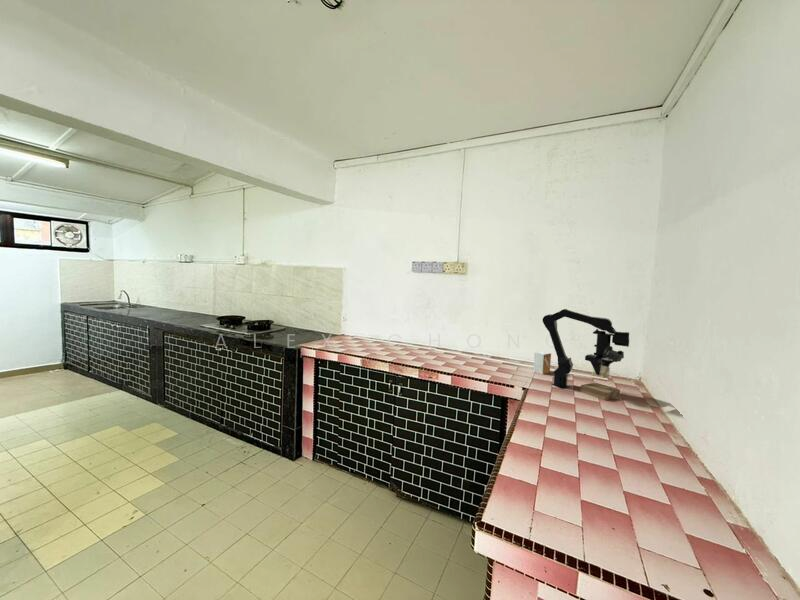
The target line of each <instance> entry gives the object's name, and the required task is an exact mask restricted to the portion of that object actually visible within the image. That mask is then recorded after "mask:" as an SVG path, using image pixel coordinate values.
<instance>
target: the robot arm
mask: <svg viewBox="0 0 800 600" xmlns="http://www.w3.org/2000/svg"><path fill="white" fill-rule="evenodd" d="M563 318H567V319H571V320H575V321H578V322H583V323H584V324H589V325H591V326H592V327H594V328H596V329H595V330H594V331H593V332H592V334H593V335H594V334H595V335H596V344H594V346H593V347H595V352H593V354H592V353H591V354H586V355H584V360H585V361H586V362H587V361H588V362H590V364H591V366H592V369H593V368H594V370H595V372H596V374H597V375H599V373H600V368H601V365H602V366H606V367H610V365H611V364H613V363H615V362H616V363H618V362H621V361H622V359H624V358H625V357H624V355H625V354H624V353H625V352H624V351H622V350H617V351H616V350H614V349H613V346H612V345H611V343H612V344H614V346H621V347H626V348H627V347H630V332H629V331H625V332H624V331H617V330H616V329H615V328H614V327H613V322H612V321H611V319H609V318H606V317H596V316H590V315H587V314H584V313H579V312H576V311H573V310H569V309H567V308H564V309H561V310H560V311H558V312H555V313H553V314H546V315H544V316H543V317H542V323H543V325H544V327H545V328H546V330H547V331H548V333H549V335H550V338H551V339H550V340H551V342H552V344H553V347H554V350H555V353H556V357H557V366H558V367H557V368H556V369H555V370H554V371H553V375H554V377H553V383H551V384H550V385H552V386H554V387H557V388H559V389H567V388H570V385H568V374H570V373H571V372H572V370H573V369H574V368H573V367H574V363H573V362H572V358H571V357H568V356H567V355H566V352H565V349H564V346H563V343H562V340H561V337H560V335H559V330H558V323H557V322H558V320H560V319H563ZM611 339H612V340H611Z"/></svg>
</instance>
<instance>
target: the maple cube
mask: <svg viewBox="0 0 800 600" xmlns="http://www.w3.org/2000/svg"><path fill="white" fill-rule="evenodd" d="M610 371H611V368H610V366H609V367H606V366H602V365H601V368H600V373H599V375H597V374H596V372H595V370H594V368H593V367H592V376H594V377H597V378H600V379H607V378H610Z"/></svg>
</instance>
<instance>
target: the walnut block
mask: <svg viewBox="0 0 800 600" xmlns="http://www.w3.org/2000/svg"><path fill="white" fill-rule="evenodd" d="M579 391H580V393H582V394H586V395H588V396H591V397H594V398H596V399H600V400H602V401H608V400H614V399H617V398H621V397H620V396H621V395H620V394H621V390H620V389H618V388H615V387H613V386H608V385H605V384H602V383H599V382H596V381H595V382H591V383H586V384H581V385H580V390H579Z"/></svg>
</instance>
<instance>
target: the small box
mask: <svg viewBox="0 0 800 600" xmlns="http://www.w3.org/2000/svg"><path fill="white" fill-rule="evenodd" d="M533 354H534V355H533V356H534V357H533V369H532V370H533V372H535V373H538V374H541V375H545V374H549V373H551V362H552V361H551V358H552V353H551V352H547V351H542V350H541V351H536V352H534V353H533Z"/></svg>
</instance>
